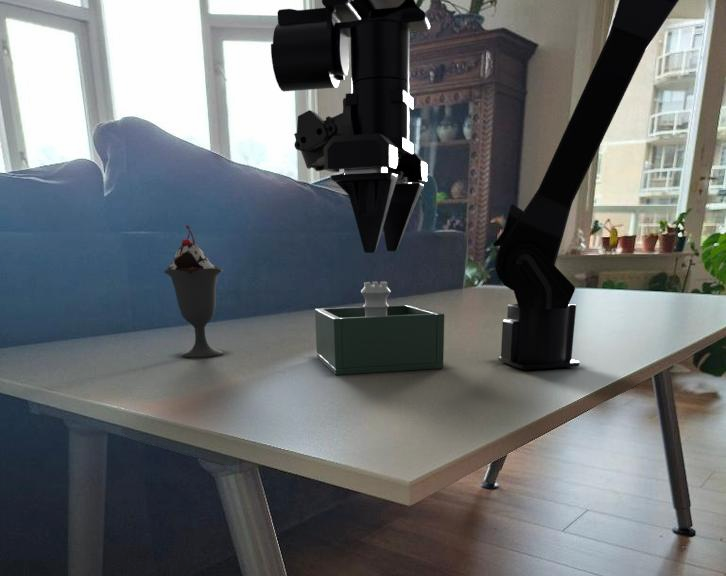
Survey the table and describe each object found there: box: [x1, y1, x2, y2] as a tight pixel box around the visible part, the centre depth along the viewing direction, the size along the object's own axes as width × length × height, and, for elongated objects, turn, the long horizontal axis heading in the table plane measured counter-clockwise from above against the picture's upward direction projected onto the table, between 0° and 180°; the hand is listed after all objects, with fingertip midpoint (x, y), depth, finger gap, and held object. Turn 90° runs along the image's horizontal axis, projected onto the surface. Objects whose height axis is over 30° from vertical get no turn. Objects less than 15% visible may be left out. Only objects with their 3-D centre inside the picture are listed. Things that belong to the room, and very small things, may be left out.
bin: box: [314, 304, 445, 376], centre depth 73 cm, size 12×12×6 cm
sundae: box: [164, 224, 224, 359], centre depth 80 cm, size 7×7×15 cm
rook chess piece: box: [360, 281, 392, 317], centre depth 73 cm, size 4×4×8 cm
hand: (381, 252), depth 71 cm, fingers open, 9 cm apart
